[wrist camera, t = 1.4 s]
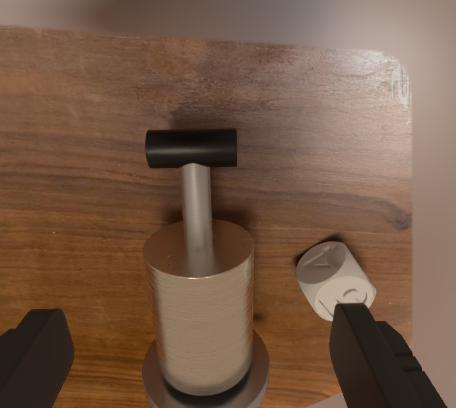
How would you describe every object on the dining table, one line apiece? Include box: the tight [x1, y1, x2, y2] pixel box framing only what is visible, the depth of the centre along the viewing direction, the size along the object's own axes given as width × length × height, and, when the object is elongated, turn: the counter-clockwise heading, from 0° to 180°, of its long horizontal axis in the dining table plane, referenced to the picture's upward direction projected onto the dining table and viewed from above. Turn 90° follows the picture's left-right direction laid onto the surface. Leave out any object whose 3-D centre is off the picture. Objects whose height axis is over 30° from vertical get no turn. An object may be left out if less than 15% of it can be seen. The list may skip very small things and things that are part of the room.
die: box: [295, 242, 376, 321], centre depth 29 cm, size 5×5×5 cm
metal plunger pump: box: [142, 128, 270, 408], centre depth 24 cm, size 11×11×21 cm
